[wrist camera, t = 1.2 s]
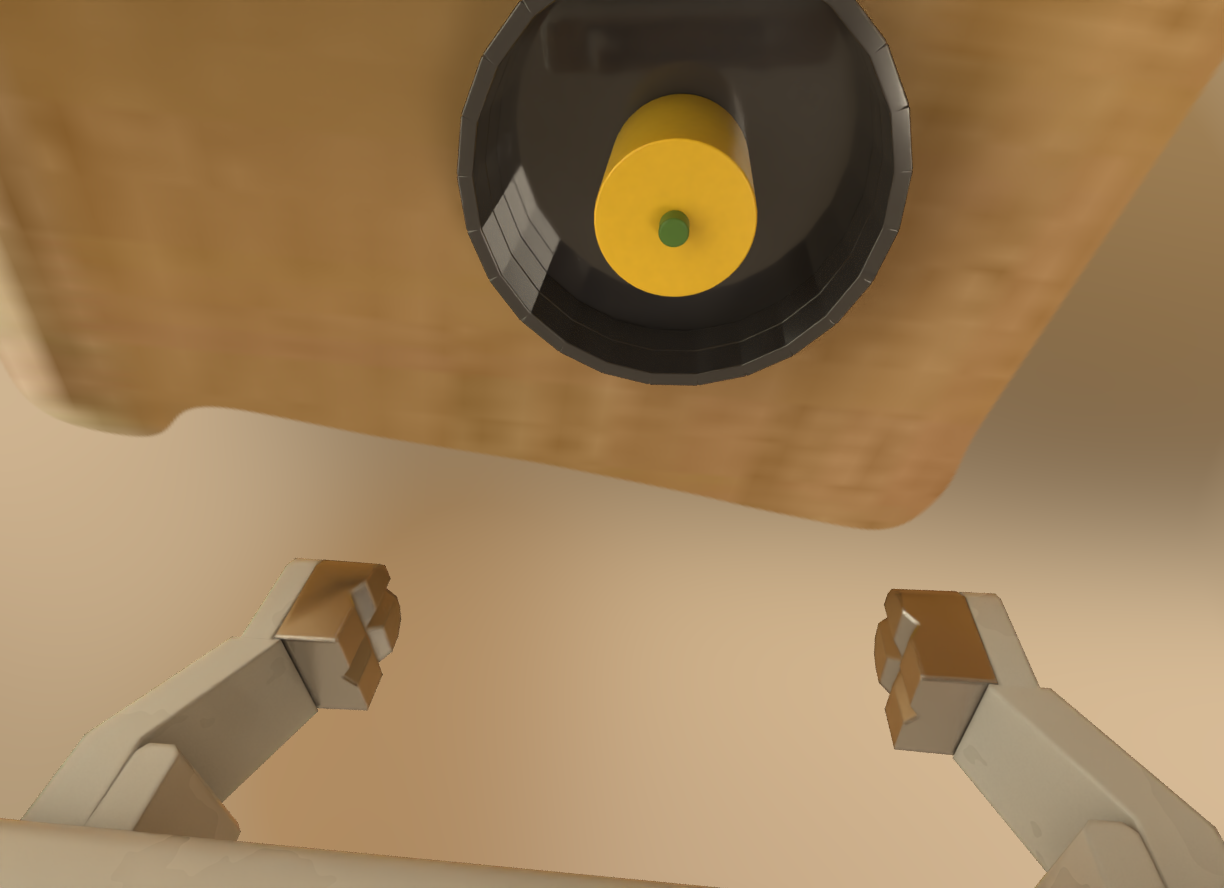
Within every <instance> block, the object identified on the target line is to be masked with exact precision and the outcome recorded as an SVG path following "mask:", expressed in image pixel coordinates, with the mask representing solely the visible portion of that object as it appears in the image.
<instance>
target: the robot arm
mask: <svg viewBox="0 0 1224 888" xmlns="http://www.w3.org/2000/svg"><path fill="white" fill-rule="evenodd" d="M389 581H390V576H389V573H388V571H387V569H386V566H385V565H381V564H372V563H359V562H345V561H333V560H316V559H301V558H295V559H294V560H292V561H291V562H289V563H288V564H287V565H286V566H285V568H284V569H283V571H282V572H281V574H280V576H279V577H278V579H277V580H276V582H275V583H274V585H273V587H272V588H271V590H270V592H269V593H268V594H267V596H266V598H265V599H264V601H263V602H262V604H261V605H260V607H259V608H258V610H257V612H256V613H255V615H254V616H253V618H252V620H251V621H250V623H249V624H248V626H247V627H246V629H245V630H244V632H243V634H242V635H241V637H230V638H229V639H227V640H226V641H224V642H223V643H222V644H220V645H218V646H217V647H215V648H214V649H212V650H211V651H209V652H208V653H207V654H205V655H203V656H202V657H200V658H199V659H197V660H196V661H194V662H193V663H191V664H190V665H188V666H187V667H185V668H184V669H182V670H181V671H179V672H178V673H176V674H175V675H173V676H172V677H170V678H169V679H167V680H166V681H164V682H163V683H161V684H160V685H158V686H157V687H155V688H154V689H152V690H151V691H149V692H148V693H146V694H145V695H143V696H142V697H140V698H139V699H137V700H136V701H134V702H133V703H131V704H130V705H128V706H126V707H125V708H124V709H122V710H120V711H119V712H117V713H116V714H114V715H113V716H111V717H110V718H108V719H107V720H105V721H104V722H102V723H101V724H100V725H98V726H96V727H95V728H93V729H92V730H90V731H89V732H87V733H86V734H84V736H83V737H82V738H81V740H80V741H79V742H78V744H77V745H76V746H75V748H74V749H73V750H72V752H71V753H70V755H69V756H68V757H67V758H66V760H65V761H64V762H63V764H62V765H61V766H60V768H59V769H58V770H57V772H56V773H55V774H54V776H53V777H52V779H51V780H50V781H49V782H48V784H47V785H46V786H45V788H44V789H43V790H42V792H41V793H40V794H39V796H38V797H37V799H36V800H35V801H34V802H33V804H32V805H31V807H30V808H29V809H28V810H27V812H26V813H25V814H24V816H23V817H22V818H21V820H14V819H3V818H0V888H718V887H708V886H696V885H686V884H676V883H666V882H656V881H646V880H635V879H625V878H615V877H604V876H594V875H583V874H573V873H563V872H552V871H543V870H532V869H522V868H512V867H500V866H491V865H481V864H471V863H460V862H449V861H439V860H429V859H417V858H408V857H398V856H386V855H377V854H367V853H356V852H346V851H336V850H325V849H314V848H304V847H294V846H284V845H273V844H263V843H253V842H241V841H237V839H238V836H239V834H240V832H241V831H240V828H239V824H238V822H237V821H236V820H235V819H234V817H233V816H232V815H231V814H230V812H229V811H228V810H227V809H226V807H225V806H224V805H223V804H222V802H223V801H224V800H225V799H226V798H227V797H228V796H229V795H231V793H232V792H234V791H235V790H236V789H237V788H238V787H239V786H240V785H241V784H242V783H243V782H244V781H245V780H246V779H247V778H248V777H249V776H250V775H251V774H252V773H253V772H255V771H256V770H257V769H258V768H259V767H260V766H261V765H262V764H263V763H264V762H265V761H266V760H267V759H268V758H269V757H270V756H271V755H272V754H274V753H275V752H276V751H277V750H278V749H279V748H280V747H281V746H282V745H283V744H284V743H285V742H286V741H287V740H288V739H289V738H290V737H291V736H292V735H294V734H295V733H296V732H297V731H298V729H300V728H301V727H302V726H303V725H304V724H305V723H306V722H307V721H308V720H309V719H310V718H311V717H312V716H313V715H314V714H316V713H317V712H318V709H317V708H326V709H349V710H368V708H369V706H370V703H371V701H372V699H373V696H374V693H375V692H376V689H377V687H378V684H379V682H380V680H381V677H382V675H383V674H382V672H381V668H380V666H379V663H378V662H380V661H381V660H382V659H383V658H385V657H386V656H387V655H388V654H390V653H391V652H392V651H393V648H394V646H395V643H396V640H397V638H398V634H399V628H400V622H401V613H400V605H399V602H398V599H397V597H396V596H395V595H394V594H393V593H392V592H390V591H389V590H388V589H387V586H388V583H389ZM884 606H885V610H886V614H887V618H886V619H884V620H883V621H881V622H880V623H879V624H878V627H877V631H876V635H875V648H874V657H875V666H876V672H877V676H878V681H879V683H880V684H881V685H882V686H883V687H884V688H885V689H886V690H887V692H888V693H889V694H890V695H889V698H888V701H887V704H886V707H885V712H886V716H887V720H888V724H889V729H890V732H891V737H892V741H893V746H894V749H897V750H907V751H917V752H927V753H937V754H947V755H954V756H953V759H954V760H955V761H956V763H957V764H958V765H959V766H960V768H961V769H962V770H963V771H964V772H965V774H966V775H967V776H968V777H969V778H970V780H971V781H972V782H973V783H974V784H975V786H976V787H977V788H978V789H979V791H980V792H981V793H982V794H983V795H984V797H985V798H986V799H987V800H988V801H989V803H990V804H991V805H992V806H993V808H994V809H995V810H996V811H997V813H998V814H999V815H1000V816H1001V817H1002V819H1003V820H1004V821H1005V822H1006V823H1007V825H1008V826H1009V827H1010V828H1011V830H1012V831H1013V832H1014V833H1015V834H1016V836H1017V837H1018V838H1019V839H1020V840H1021V842H1022V843H1023V844H1024V845H1025V846H1026V848H1027V849H1028V850H1029V851H1030V853H1031V854H1032V855H1033V856H1034V857H1035V859H1036V860H1037V861H1038V862H1039V864H1040V865H1041V866H1042V867H1043V868H1044V870H1045V871H1046V872H1047V873H1046V874H1045V875H1044V877H1043V878H1042V879H1041V880H1040V882H1039V883H1038V884H1037V885H1036V887H1035V888H1224V841H1223V840H1222V838H1221V836H1220V834H1219V832H1218V831H1217V829H1216V827H1215V826H1213V825H1212V824H1211V823H1210V822H1209V821H1207V820H1206V819H1205V818H1204V817H1202V816H1201V815H1200V814H1199V813H1198V812H1197V811H1196V810H1194V809H1193V808H1192V807H1191V806H1189V805H1188V804H1187V803H1186V802H1185V801H1184V800H1182V799H1181V798H1180V797H1179V796H1178V795H1176V794H1175V793H1174V792H1173V791H1172V790H1171V789H1169V788H1168V787H1167V786H1166V785H1165V784H1164V783H1162V782H1161V781H1160V780H1159V779H1157V778H1156V777H1155V776H1154V775H1153V774H1152V773H1150V772H1149V771H1148V770H1147V769H1146V768H1145V767H1143V766H1142V765H1141V764H1140V763H1139V762H1137V761H1136V760H1135V759H1134V758H1133V757H1131V756H1130V755H1129V754H1128V753H1126V751H1124V750H1123V749H1122V748H1121V747H1120V746H1118V745H1117V744H1116V743H1115V742H1114V741H1112V740H1111V739H1110V738H1109V737H1108V736H1107V735H1105V734H1104V733H1103V732H1102V731H1101V730H1099V729H1098V728H1097V727H1096V726H1095V725H1093V724H1092V723H1091V722H1090V721H1089V720H1088V719H1086V718H1085V717H1084V716H1083V715H1082V714H1080V713H1079V712H1078V711H1077V710H1076V709H1074V708H1073V707H1072V706H1071V705H1070V704H1068V703H1067V702H1066V701H1065V700H1064V699H1063V698H1061V697H1060V696H1059V695H1058V694H1057V693H1056V692H1054V691H1053V690H1052V689H1050V688H1040V687H1039V684H1038V682H1037V680H1036V677H1035V675H1034V673H1033V671H1032V668H1031V667H1030V664H1029V662H1028V660H1027V657H1026V655H1025V653H1024V651H1023V648H1022V646H1021V644H1020V641H1019V639H1018V637H1017V634H1016V632H1015V630H1014V628H1013V626H1012V623H1011V621H1010V619H1009V617H1008V614H1007V612H1006V610H1005V607H1004V605H1003V603H1002V601H1001V599H1000V598H999V597H998V596H997V595H996V594H992V593H970V592H959V593H958V592H956V591H934V590H907V589H891V590H890V592H889V593H888V594H887V597H886V600H885V603H884Z"/></svg>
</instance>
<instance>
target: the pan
mask: <svg viewBox="0 0 1224 888" xmlns="http://www.w3.org/2000/svg"><path fill="white" fill-rule="evenodd" d="M673 94H691V95H696V96H701V97H703V98H706V99H709V100H711V101H713V102H715V103H717V104H718V105H720V106H721V107H722V108H724V109H725V110H726V111H727V112H728V113H729V114H730V115H731V116H732V117H733V118H734V120H735V121H736V122H737V124H738V125H739V127H740V129H741V130H742V132H743V135H744V137H745V140H746V144H747V147H748V153H749V159H750V165H751V172H752V178H753V185H754V191H755V197H756V205H757V227H756V233H755V236H754V240H753V243H752V245H751V248H750V250H749V252H748V254H747V255H746V257H745V259H744V260H743V262H742V263H741V264H740V265H739V267H738V268H737V269H736V270H735V271H734V272H733V273H732V274H731V275H730V276H729V277H728V278H726V279H725V280H724V281H722V282H721V283H719V284H718V285H716V286H714V287H713V288H710V289H708V290H706V291H703V292H700V293H697V294H694V295H688V296H680V297H669V296H660V295H655V294H651V293H648V292H645V291H643V290H641V289H638V288H636V287H634V286H633V285H631V284H630V283H628V282H627V281H625V280H624V279H623V278H622V277H620V276H619V275H618V274H617V273H616V272H615V271H614V270H613V269H612V267H611V266H610V265H609V263H608V262H607V261H606V259H605V257H604V255H603V254H602V252H601V249H600V247H599V244H598V241H597V238H596V234H595V227H594V210H595V203H596V199H597V196H598V192H599V189H600V186H601V183H602V180H603V177H604V174H605V171H606V168H607V164H608V161H609V158H610V155H611V152H612V149H613V146H614V143H615V140H616V138H617V136H618V133H619V132H620V130H621V128H622V127H623V125H624V124H625V123H626V121H627V120H628V119H629V117H630V116H632V115H633V114H634V113H635V112H636V111H637V110H638V109H639V108H641V107H642V106H643V105H645V104H647V103H649V102H650V101H652V100H655V99H657V98H660V97H663V96H667V95H673ZM912 169H913V162H912V142H911V121H910V107H909V102H908V99H907V97H906V94H905V91H904V88H903V85H902V82H901V79H900V77H899V74H898V71H897V68H896V65H895V62H894V59H893V57H892V54H891V51H890V48H889V45H888V44H887V43H886V39H885V38H884V37H883V35H882V34H881V33H880V31H879V30H878V29H877V27H876V26H875V25H874V23H873V22H872V21H871V19H870V18H869V17H868V15H867V14H866V13H865V11H864V10H863V9H862V7H861V6H860V5H859V3H858V2H857V1H856V0H520V1H519V2H518V4H517V5H516V7H515V8H514V10H513V11H512V12H511V14H510V15H509V17H508V18H507V20H506V21H505V22H504V24H503V25H502V27H501V28H500V30H499V31H498V32H497V34H496V35H495V37H494V38H493V40H492V41H491V42H490V44H489V45H488V47H487V48H486V50H485V51H484V52H483V55H482V56H481V59H480V62H479V65H478V67H477V70H476V73H475V76H474V79H473V82H472V85H471V88H470V90H469V93H468V96H467V99H466V102H465V105H464V108H463V110H462V116H461V121H460V135H459V149H458V163H457V180H458V185H459V191H460V196H461V202H462V207H463V213H464V218H465V224H466V229H467V231H468V235H469V237H470V239H471V241H472V243H473V246H474V248H475V250H476V252H477V254H478V257H479V259H480V261H481V263H482V266H483V268H484V270H485V272H486V274H487V277H488V279H490V282H491V283H492V285H493V286H494V287H495V289H496V290H497V291H498V292H499V294H500V295H501V296H502V298H503V299H504V300H505V301H506V303H507V304H508V305H509V307H510V308H511V309H512V310H513V312H514V313H515V314H516V316H517V317H518V318H519V319H520V320H521V321H522V322H523V323H524V324H525V325H527V326H528V327H529V328H530V329H532V330H533V331H534V332H535V333H537V334H538V335H539V336H540V337H541V338H543V339H544V340H545V341H546V342H548V343H549V344H550V345H551V346H553V347H554V348H555V349H556V350H558V351H560V353H562V354H564V355H566V356H569V357H571V358H573V359H575V360H577V361H579V362H581V363H583V364H585V365H587V366H589V367H591V368H593V369H595V370H597V371H599V372H601V373H604V374H608V375H612V376H617V377H621V378H625V379H629V380H633V381H637V382H641V383H645V384H649V383H650V384H651V385H693V386H697V385H703V384H708V383H713V382H718V381H723V380H729V379H734V378H739V377H744V376H746V375H750V374H752V373H755V372H757V371H759V370H762V369H764V368H766V367H769V366H771V365H773V364H775V363H778V362H780V361H782V360H785V359H787V358H789V357H791V356H793V355H795V354H796V353H798V352H799V351H800V350H802V349H803V348H804V347H806V346H807V345H808V344H810V343H811V342H813V341H814V340H815V339H817V338H818V337H819V336H821V335H822V334H823V333H825V332H826V331H828V330H829V329H830V328H832V327H833V326H834V325H835V324H837V323H838V322H839V321H840V319H841V318H842V317H843V316H844V315H845V314H846V312H847V311H848V310H849V309H850V308H851V307H852V306H853V304H854V303H855V302H856V301H857V300H858V299H859V297H860V296H861V295H862V294H863V293H864V292H865V290H866V289H867V288H868V287H869V286H870V285H871V283H872V282H873V281H874V279H875V277H876V275H877V273H878V271H879V269H880V267H881V265H882V263H883V261H884V259H885V257H886V255H887V253H888V251H889V249H890V247H891V245H892V243H893V241H894V239H895V238H896V236H897V234H898V232H899V229H900V225H901V221H902V216H903V212H904V207H905V203H906V199H907V194H908V190H909V185H910V181H911V176H912V172H913V171H912Z"/></svg>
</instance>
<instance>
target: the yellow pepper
mask: <svg viewBox="0 0 1224 888" xmlns="http://www.w3.org/2000/svg"><path fill="white" fill-rule="evenodd" d="M594 227H595V234H596V238H597V241H598V244H599V247H600V249H601V252H602V254H603V255H604V257H605V259H606V261H607V262H608V263H609V265H610V266H611V267H612V269H613V270H614V271H615V272H616V273H617V274H618V275H619V276H620V277H622V278H623V279H624V280H625V281H627V282H628V283H630V284H631V285H633V286H634V287H636V288H638V289H641V290H643V291H645V292H648V293H651V294H655V295H660V296H669V297H680V296H688V295H694V294H697V293H700V292H703V291H706V290H708V289H710V288H713V287H714V286H716V285H718V284H719V283H721V282H722V281H724V280H725V279H726V278H728V277H729V276H730V275H731V274H732V273H733V272H734V271H735V270H736V269H737V268H738V267H739V265H740V264H741V263H742V262H743V260H744V259H745V257H746V255H747V254H748V252H749V250H750V248H751V245H752V243H753V240H754V236H755V233H756V227H757V205H756V197H755V191H754V185H753V178H752V172H751V165H750V159H749V153H748V147H747V144H746V140H745V137H744V135H743V132H742V130H741V129H740V127H739V125H738V124H737V122H736V121H735V120H734V118H733V117H732V116H731V115H730V114H729V113H728V112H727V111H726V110H725V109H724V108H722V107H721V106H720V105H718V104H717V103H715V102H713V101H711V100H709V99H706V98H703V97H701V96H696V95H691V94H673V95H667V96H663V97H660V98H657V99H655V100H652V101H650V102H649V103H647V104H645V105H643V106H642V107H641V108H639V109H638V110H637V111H636V112H635V113H634V114H633V115H632V116H630V117H629V119H628V120H627V121H626V123H625V124H624V125H623V127H622V128H621V130H620V132H619V133H618V136H617V138H616V140H615V143H614V146H613V149H612V152H611V155H610V158H609V161H608V164H607V168H606V171H605V174H604V177H603V180H602V183H601V186H600V189H599V192H598V196H597V199H596V203H595V210H594Z"/></svg>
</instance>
